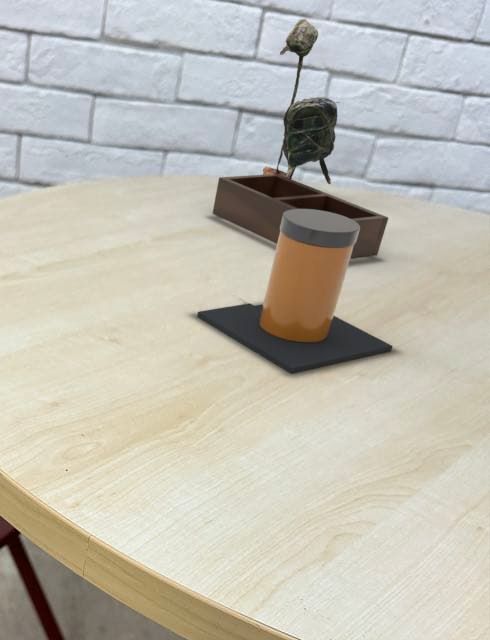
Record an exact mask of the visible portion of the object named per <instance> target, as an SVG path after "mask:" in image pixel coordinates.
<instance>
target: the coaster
mask: <svg viewBox="0 0 490 640" xmlns="http://www.w3.org/2000/svg"><path fill="white" fill-rule="evenodd" d="M262 307H263V304H258V305H254V304H251V303H250V302H248V303H244V304H236V305H230V306H225V307H218V308H212V309H207V310H206V309H205V310H200V311H197V315H196V317H197V318H198V319H200V320H202V321H203V322H205V323H207V324H208V325H210V326H211V327H213V328H215V330H218V331H220V332H222V333H223V334H224V335H227V336H228V337H230V338H231V339H233V340H235V341H236V342H238V343H240V344H241V345H243V346H244V347H246V348H248V349H249V350H251V351H253V352H254V353H256V354H258V355H259V356H261V357H263V358H265V359H266V360H268V361H269V362H271V363H272V364H274V365H276V366H278V367H279V368H281V369H282V370H284V371H286V372H288V373H289V374H294V373H295V374H296V373H299V372H300V373H301V372H304V371H309V370H313V369H314V370H315V369H319V368H323V367H326V366H327V367H328V366H331V365H335V364H336V365H337V364H340V363H344V362H345V363H346V362H349V361H353V360H357V359H358V360H359V359H362V358H368V357H371V356H375V355H381V354H384V353H390V352H392V350H393V345H391V344H390V343H388V342H386V341H384V340H382V339H380V338H378V337H376V336H375V335H372V334H371V333H368V332H366V331H364V330H362V329H361V328H358V327H357V326H355V325H353V324H351V323H349V322H347V321H345V320H343V319H341V318H339V317H337V316H335V315H334V316H333V320H332V323H331V327H330V330H329V334H328V336H327V338H326V339H324V340H322V341H319V342H311V343H305V342H295V341H289V340H285V339H282V338H279V337H276V336H274V335H271V334H270V333H268V332H266V331H265V330H263V329H262V328H261V326H260V324H259V320H260V316H261V311H262Z"/></svg>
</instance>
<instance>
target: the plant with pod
mask: <svg viewBox="0 0 490 640" xmlns="http://www.w3.org/2000/svg"><path fill="white" fill-rule="evenodd" d="M318 37H319V31H318V29H316V27H315V26H314V25H312V24H311V23H310V22H308V20H307V19H306V18H301V19H299V20H298V21H297V22H296V24H295V25H294V27H293V29H292V30H291V31H290V32H289V33H288V35H287V36H286V39H285V43H286V44H285V46H284V47H283V48H282V50H281V51H280V52H279V55H280V56H284V55H285V54H286V52H290V53H295V55H296V56H298V62H297V69H296V78H295V84H294V89H293V93H292V97H291V101H290V105H289V106H288V108H287V110H286V112H285V113H284V117H283V119H282V120H283V127H284V132H283V139H282V145H281V149H280V152H279V153H280V155H279V157H278V162H277V166H276V168H273V167H270V166H266V165H265V166H264V167H263V170H262V172H263V173H262V175H265V174H279V175H281V176H284V177H286V178H289V179H291V180H293V176H294V173H295V170H296V168H297V167H299V166H300V167H301V166H303V165H305V164H307V163H310V162H311V163H317V162H319V166H320V170H321V172H322V174H323V176H324V179H325V181H326V183H327V184H328V185H331V184H332V180H331V177H330V175H329V170H328V167H327V164H326V161H325V159H326V158H327V157H329V156H330V155H331V154H332V152H333V151H334V149H335V141H336V131H335V128H336V126H337V122H338V116H339V115H338V106H337V104H339V103H340V101H337V102H335V101H333V100H331V99H330V98H329V97H328V96H317V97H310V98H303V99H302V100H296V97H297V93H298V89H299V83H300V77H301V72H302V68H303V63H304V58H305V57H307V56H308V55H309V54H310V53H311V52H312V50H313V47H314V44H315V43H316V42H317V40H318ZM295 100H296V102H295ZM283 154H284V157H285V159H286V161H287V164H288V165H287V172H285V171H283V170H279V165H280V163H281V161H282V158H283Z"/></svg>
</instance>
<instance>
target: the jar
mask: <svg viewBox="0 0 490 640" xmlns="http://www.w3.org/2000/svg"><path fill="white" fill-rule="evenodd" d="M359 230H360V226H359V224H358V223H357V222H355V221H354V220H352V219H350V218H347V217H345V216H342V215H339V214H335V213H331V212H327V211H321V210H314V209H292V210H288V211H285V212H284V213H283V216H282V220H281V224H280V234H279V238H278V243H277V244H276V247H275V252H274V256H273V260H272V264H271V269H270V273H269V277H268V281H267V286H266V289H265V295H264V300H263V304H262V305H263V307H262V311H261V316H260V320H259V324H260V326H261V328H262V329H263V330H265V331H266V332H268V333H270V334H271V335H274V336H276V337H279V338H282V339H285V340H289V341H295V342H305V343H311V342H319V341H322V340H324V339H326V338H327V336H328V334H329V330H330V327H331V323H332V320H333V316H335V312H336V309H337V305H338V303H339V300H340V299H339V298H340V296H341V292H342V289H343V285H344V282H345V278H346V274H347V272H348V267H349V264H350V260H351V259H350V257H351V254H352V250H353V247H354V244H355V243H356V241H357V237H358V234H359Z"/></svg>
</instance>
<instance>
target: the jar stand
mask: <svg viewBox="0 0 490 640" xmlns="http://www.w3.org/2000/svg"><path fill="white" fill-rule="evenodd" d="M292 209H314V210H321V211H327V212H331V213H335V214H339V215H342V216H345V217H347V218H350V219H352V220H354V221H355V222H357V223H358V224H359V226H360V230H359V234H358V237H357V241H356V243H355V244H354V247H353V250H352V254H351V257H350V260H352V259H353V260H354V259H359V258H367V257H375V256H378V253H379V251H380V247H381V244H382V240H383V238H384V235H385V231H386V228H387V224H388V221H389V217H388V216H386V215H383V214H381V213H378V212H375V211H373V210H371V209H368V208H366V207H363V206H360V205H358V204H355V203H353V202H350V201H348V200H345V199H343V198H340V197H337V196H334V195H332V194H329V193H327V192H324V191H322V190H320V189H317V188H314V187H311V186H309V185H307V184H304V183H302V182H299V181H296V180H294V179H289V178H286V177H284V176H281V175H279V174H265V175H263V174H251V175H237V176H236V175H234V176H222V177H221V176H219V177H218V181H217V186H216V192H215V199H214V203H213V209H212V214H213V215H214V216H217V217H219V218H221V219H223V220H225V221H227V222H230V223H232V224H234V225H236V226H238V227H240V228H242V229H244V230H247V231H249V232H251V233H253V234H255V235H257V236H259V237H262V238H263V239H266V240H267V241H270V242H272V243H274V244H276V245H277V243H278V238H279V234H280V224H281V220H282V216H283V213H284V212H285V211H288V210H292Z"/></svg>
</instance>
